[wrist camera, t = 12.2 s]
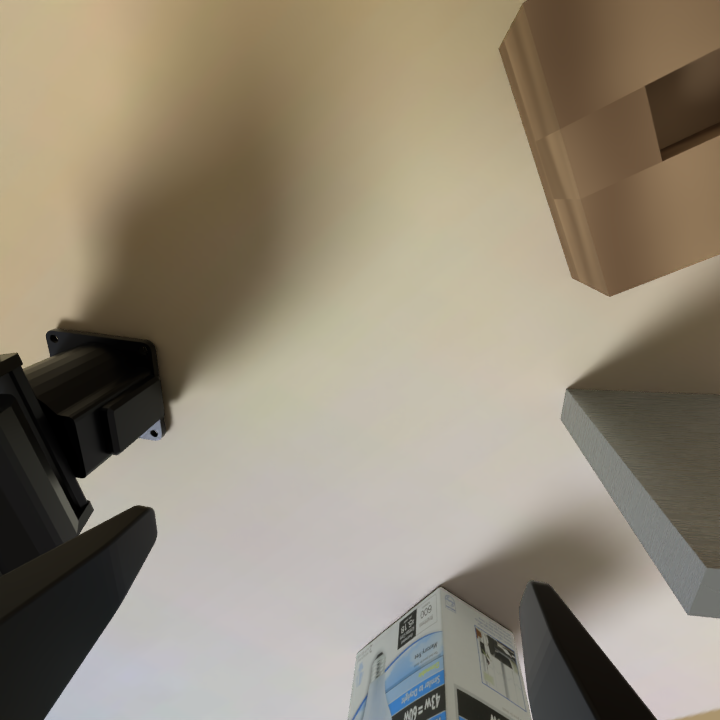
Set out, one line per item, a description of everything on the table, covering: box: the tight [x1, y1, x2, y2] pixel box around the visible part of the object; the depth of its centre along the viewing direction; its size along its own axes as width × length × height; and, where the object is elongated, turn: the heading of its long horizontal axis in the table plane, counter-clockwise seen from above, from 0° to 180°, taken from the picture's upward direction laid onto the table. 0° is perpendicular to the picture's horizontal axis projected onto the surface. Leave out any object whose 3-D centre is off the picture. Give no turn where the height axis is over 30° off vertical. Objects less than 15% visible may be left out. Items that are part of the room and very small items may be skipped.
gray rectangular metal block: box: [561, 389, 720, 618], centre depth 16 cm, size 8×2×11 cm, turn 91°
